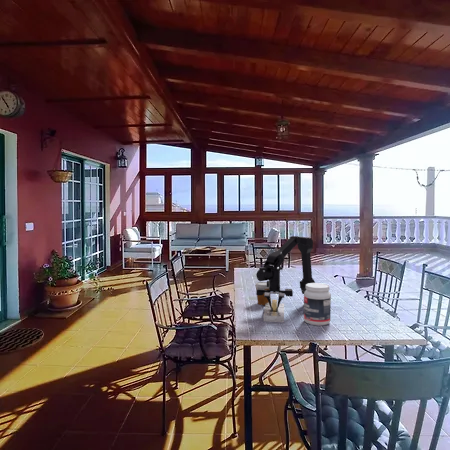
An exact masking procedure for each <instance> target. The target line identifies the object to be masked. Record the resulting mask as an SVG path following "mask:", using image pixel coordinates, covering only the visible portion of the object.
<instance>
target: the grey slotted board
mask: <svg viewBox="0 0 450 450" xmlns="http://www.w3.org/2000/svg"><path fill="white" fill-rule="evenodd" d="M271 304H272V302H271ZM277 305H278V302H277ZM264 306H265V307H264V311H263V312H264V313H263V322H264V323H282V324H283V323H285V303H281V302H280V304H279V307H278V309H277V308H276V312H273V308H270V305H269V303H266V305H264Z"/></svg>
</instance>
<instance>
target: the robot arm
mask: <svg viewBox="0 0 450 450" xmlns="http://www.w3.org/2000/svg"><path fill="white" fill-rule="evenodd" d="M296 246H297V248H298V250H299V251H300V253H301V255H300V256H301V265H302V266H301V268H302V279H301V280H300V281H299V289H300V290H301V294H302V295H304V292H305V291H306V288H305V287H306V284H308V283H316V282H315V279H314V278H313V274H312V273H313V271H312V258H311V252H312V251H313V248H314V240H313V239H312V238H311V237H308V236H297V235H296V236H295V235H292V236H290V237H289V239H287V241H286V242H285V243H284V244H283V245H282V246H280V248H278V250H276V251H273V252H271V253H270V254H268V256H267V257H266V260H265V262H264V264H263V265H262V267H258V270H257V272H256V279H257V281H258V282H267V287H269V290H264V288H257V290H256V289H255V290H256V292H255V293H256V296H257V295H263V294H265V295H264V297H266V298H267V300H268V302H269V305H270V308H272V304H271V303H272V298H271V297H272V296H271V295H273V294H274V295H275V294H276V295H278V297H277V298H278V299H277V303H278V305H277V309H278V307H279V304H280V303H281V301H282V300H283V299H284V298H285V297H293V294H294V293H293V292H294V291H293V289H292V288H284V290H282V289H281V271H283V270H284V268H283V267H282V264H283V263H284V261H285V258H286V256H288V254H289V253H290V252H291V251H292V250H293V249H294V248H295V247H296Z"/></svg>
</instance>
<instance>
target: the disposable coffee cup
mask: <svg viewBox="0 0 450 450" xmlns="http://www.w3.org/2000/svg"><path fill="white" fill-rule="evenodd" d="M254 286H255V290H257V288H264V290H269V287H267V281H258V282H255V284H254ZM264 295H265V294H263V295H256V299H257V304H258V305H259V306H265V305H266V303H269V302H268V300H267V298H266V297H264Z"/></svg>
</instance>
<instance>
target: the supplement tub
mask: <svg viewBox="0 0 450 450" xmlns="http://www.w3.org/2000/svg"><path fill="white" fill-rule="evenodd" d="M305 288H306V291H305V292H304V294H303V321H304V322H305V323H307V324H309V325H312V326H317V327H318V326H321V327H322V326H326V325H329V324H330V323H331V321H332V320H331V318H332V317H331V314H332V313H331V308H332V306H331V303H332V301H331V299H332V298H331V297H332V294H331V292H330V291H329V290H331V289H330V284H328V283H322V282H315V283H308V284H306V287H305Z"/></svg>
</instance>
